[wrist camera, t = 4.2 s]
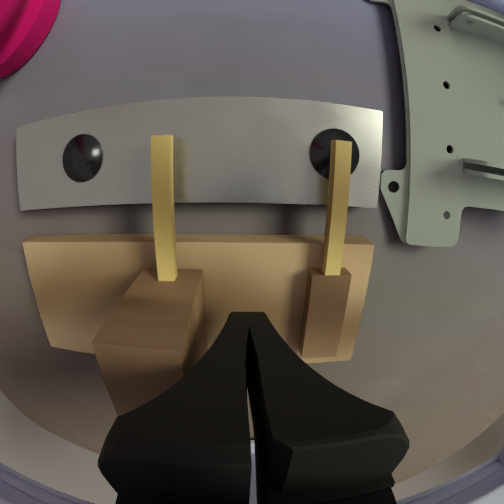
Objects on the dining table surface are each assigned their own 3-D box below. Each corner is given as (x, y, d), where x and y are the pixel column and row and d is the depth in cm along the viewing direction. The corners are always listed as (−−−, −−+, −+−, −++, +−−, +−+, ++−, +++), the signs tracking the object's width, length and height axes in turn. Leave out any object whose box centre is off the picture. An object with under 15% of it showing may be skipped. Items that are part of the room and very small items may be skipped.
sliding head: (207, 352, 13) (196, 443, 8) (156, 349, 12) (126, 434, 8) (201, 135, 10) (166, 121, 5) (136, 138, 10) (61, 134, 5)
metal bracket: (575, 18, 2) (589, 265, 7) (533, 36, 8) (542, 235, 13) (356, -65, 6) (384, 255, 11) (352, -12, 11) (367, 221, 16)
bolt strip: (367, 203, 12) (377, 208, 11) (31, 206, 11) (19, 211, 10) (372, 113, 11) (383, 111, 10) (28, 127, 10) (15, 127, 9)
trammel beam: (344, 345, 15) (355, 369, 13) (60, 335, 14) (44, 354, 12) (371, 147, 11) (393, 147, 9) (28, 157, 11) (3, 160, 9)
